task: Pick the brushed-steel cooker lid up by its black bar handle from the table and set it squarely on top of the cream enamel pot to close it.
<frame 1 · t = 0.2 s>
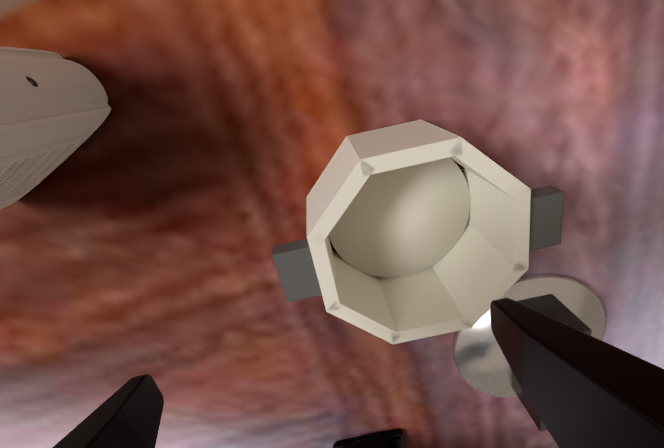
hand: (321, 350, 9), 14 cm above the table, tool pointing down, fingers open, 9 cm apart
photo printer: (39, 131, 20), on the table
cooker lid: (523, 334, 29), on the table
cooker pot: (395, 210, 23), on the table
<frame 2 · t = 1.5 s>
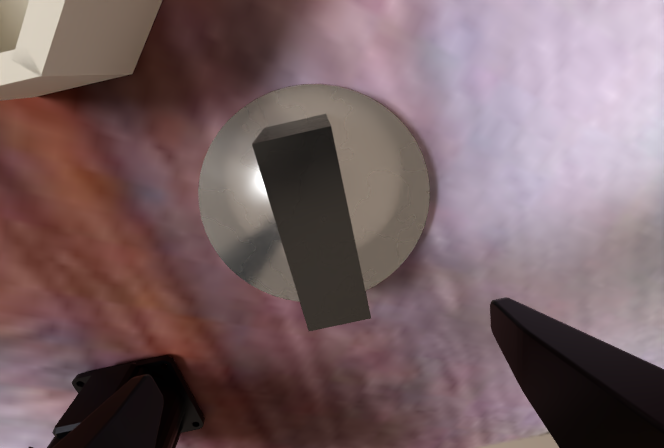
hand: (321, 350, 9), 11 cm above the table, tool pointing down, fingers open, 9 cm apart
cooker lid: (316, 201, 19), on the table
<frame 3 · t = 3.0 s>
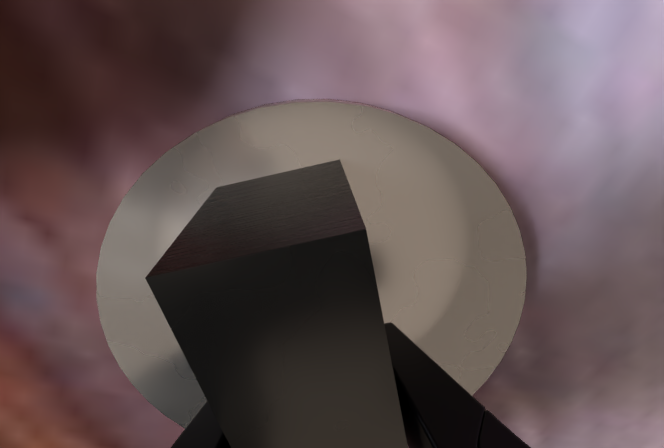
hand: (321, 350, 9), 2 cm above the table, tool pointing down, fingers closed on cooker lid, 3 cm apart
cooker lid: (318, 301, 11), on the table, touching gripper
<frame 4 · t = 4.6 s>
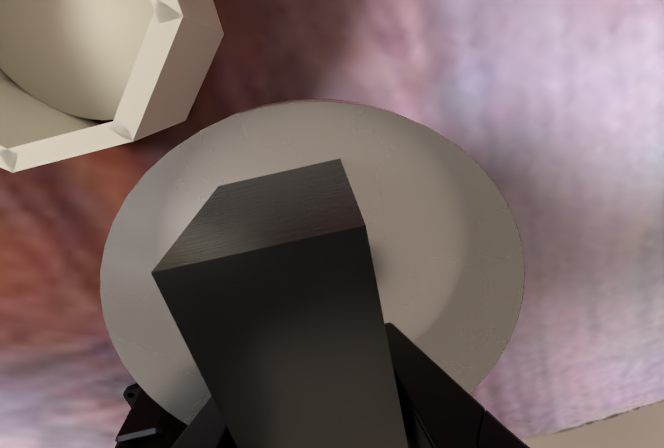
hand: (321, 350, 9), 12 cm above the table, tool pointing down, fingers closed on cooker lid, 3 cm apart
cooker lid: (319, 299, 11), point 10 cm above the table, touching gripper
cooker pot: (89, 10, 16), on the table
when the fingers open (9 cm above the table, at t = 6.0 s): cooker lid drops 1 cm, resting on cooker pot.
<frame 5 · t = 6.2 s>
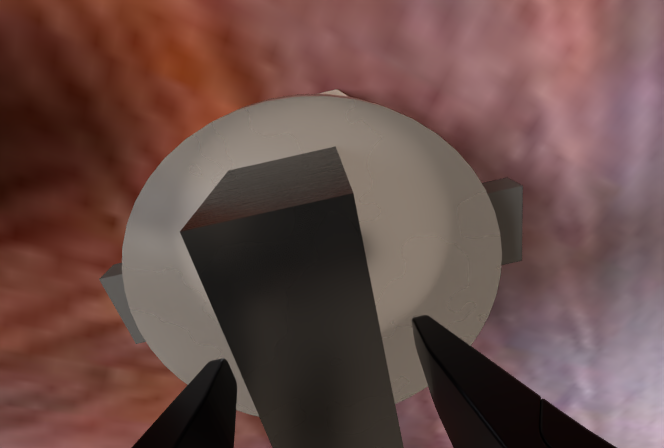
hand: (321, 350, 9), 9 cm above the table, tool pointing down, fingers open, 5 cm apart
cooker lid: (317, 276, 12), point 6 cm above the table, touching cooker pot
cooker pot: (314, 213, 18), on the table
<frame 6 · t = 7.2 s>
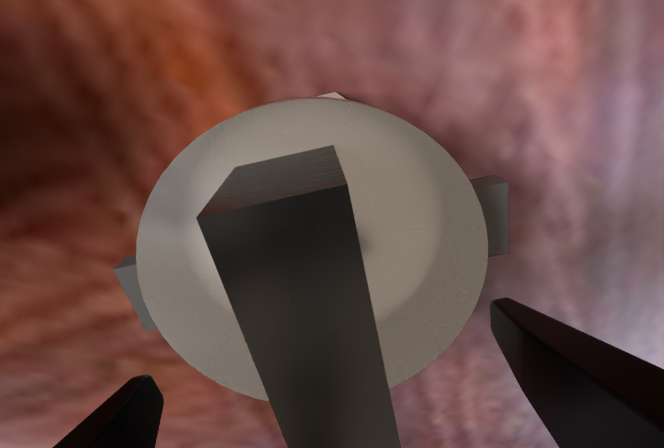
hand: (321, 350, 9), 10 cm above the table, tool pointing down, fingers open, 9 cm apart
cooker lid: (317, 267, 13), point 6 cm above the table, touching cooker pot
cooker pot: (314, 210, 19), on the table
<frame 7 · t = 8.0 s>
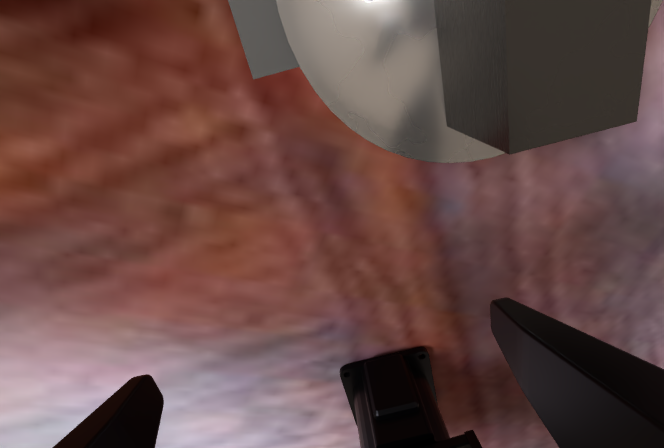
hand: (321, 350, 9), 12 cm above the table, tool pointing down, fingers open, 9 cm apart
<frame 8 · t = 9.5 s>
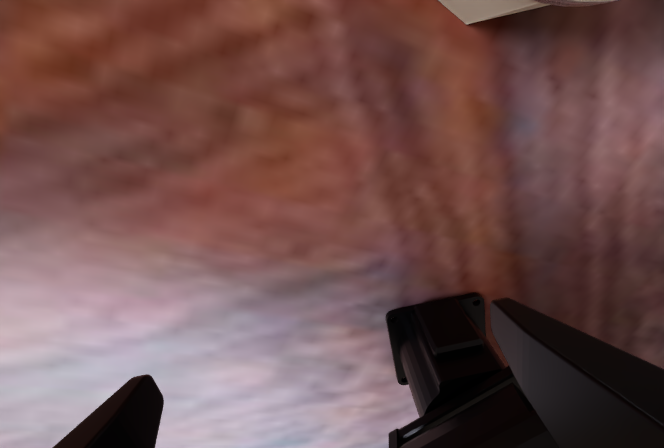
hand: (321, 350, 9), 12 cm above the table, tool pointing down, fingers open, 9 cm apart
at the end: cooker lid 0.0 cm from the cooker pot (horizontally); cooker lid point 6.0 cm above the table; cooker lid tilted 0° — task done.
